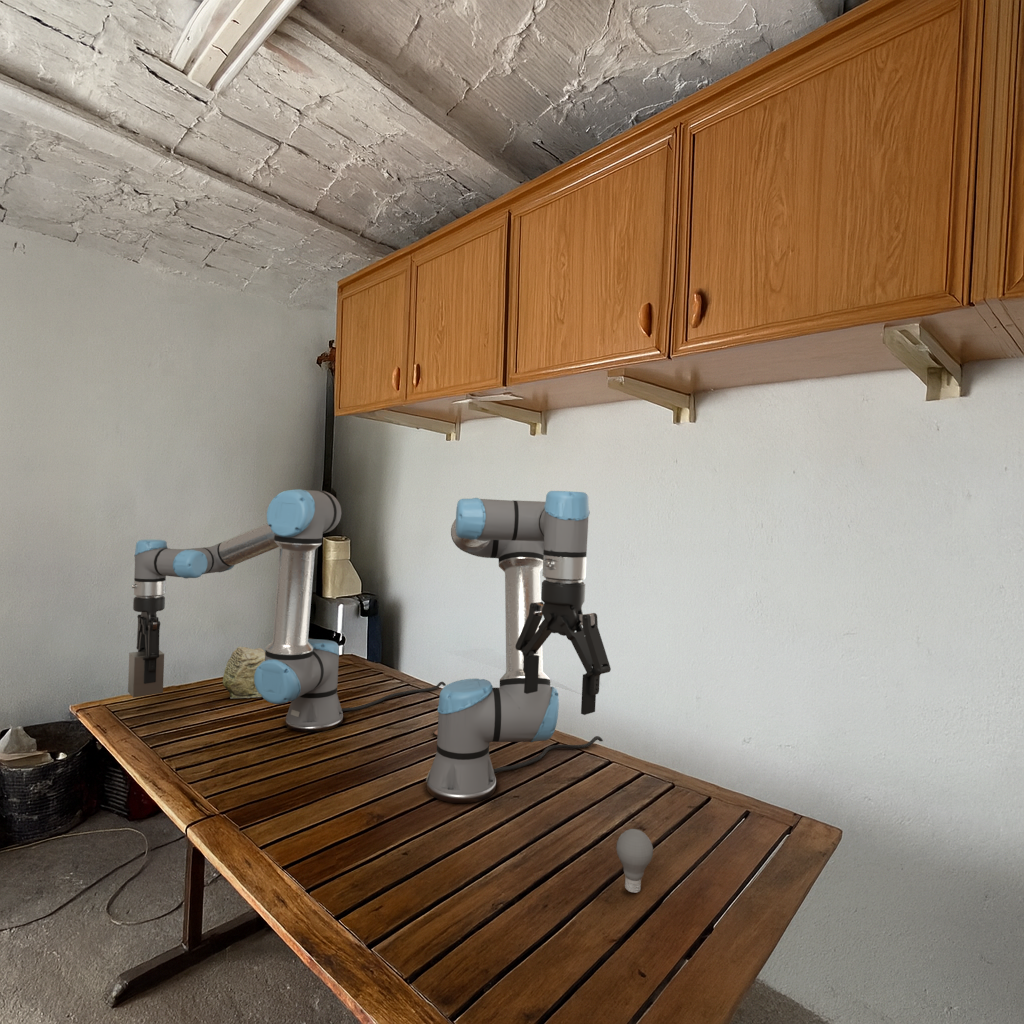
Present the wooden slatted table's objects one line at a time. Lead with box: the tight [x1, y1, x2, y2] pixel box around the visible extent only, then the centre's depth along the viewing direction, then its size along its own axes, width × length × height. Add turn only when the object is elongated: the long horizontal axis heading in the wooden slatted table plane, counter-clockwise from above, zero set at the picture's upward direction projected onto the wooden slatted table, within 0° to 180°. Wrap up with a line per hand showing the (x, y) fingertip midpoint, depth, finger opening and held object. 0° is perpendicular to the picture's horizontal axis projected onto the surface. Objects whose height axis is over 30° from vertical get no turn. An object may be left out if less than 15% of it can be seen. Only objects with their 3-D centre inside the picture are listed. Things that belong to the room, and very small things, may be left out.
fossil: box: [222, 646, 265, 699], centre depth 198 cm, size 9×18×15 cm, turn 132°
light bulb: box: [615, 828, 654, 894], centre depth 106 cm, size 6×6×10 cm
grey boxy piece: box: [127, 649, 165, 698], centre depth 174 cm, size 6×7×11 cm
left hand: (146, 679), depth 174 cm, fingers closed on grey boxy piece, 6 cm apart
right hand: (558, 702), depth 110 cm, fingers open, 13 cm apart
